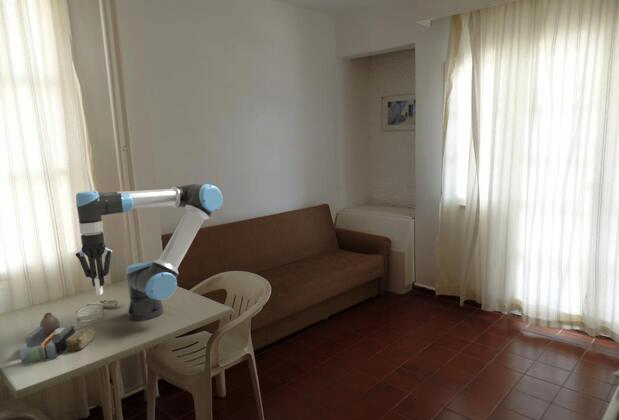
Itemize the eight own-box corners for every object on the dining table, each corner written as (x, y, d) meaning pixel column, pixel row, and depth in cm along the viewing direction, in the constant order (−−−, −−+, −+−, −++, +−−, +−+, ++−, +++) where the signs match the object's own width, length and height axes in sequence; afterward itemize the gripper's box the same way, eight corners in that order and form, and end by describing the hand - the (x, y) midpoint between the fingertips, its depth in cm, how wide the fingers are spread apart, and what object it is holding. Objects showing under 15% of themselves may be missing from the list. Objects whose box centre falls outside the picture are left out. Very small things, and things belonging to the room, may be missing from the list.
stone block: (96, 337, 169) (94, 325, 168) (80, 352, 158) (78, 339, 157) (82, 338, 169) (80, 326, 168) (65, 352, 158) (63, 340, 157)
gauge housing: (71, 340, 167) (69, 324, 166) (55, 358, 153) (52, 340, 152) (40, 344, 166) (37, 327, 165) (21, 362, 152) (18, 344, 151)
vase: (46, 339, 170) (43, 318, 169) (38, 335, 174) (34, 315, 172) (64, 332, 176) (61, 311, 175) (55, 329, 180) (52, 309, 178)
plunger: (75, 336, 170) (73, 322, 169) (56, 358, 152) (53, 342, 152) (64, 338, 169) (61, 323, 168) (43, 359, 152) (40, 344, 151)
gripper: (113, 230, 163) (120, 289, 166) (78, 232, 162) (86, 292, 165) (106, 233, 156) (114, 296, 159) (69, 236, 154) (77, 299, 158)
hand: (99, 294), depth 162 cm, fingers closed
